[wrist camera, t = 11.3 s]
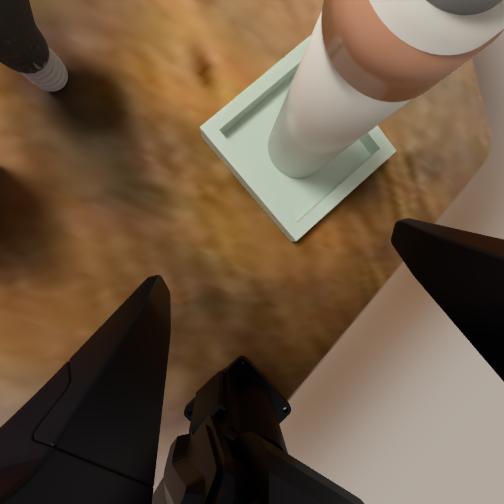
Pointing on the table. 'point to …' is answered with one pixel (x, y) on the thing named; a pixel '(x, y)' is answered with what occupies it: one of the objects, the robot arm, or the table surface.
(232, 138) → the tray
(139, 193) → the table surface
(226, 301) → the table surface
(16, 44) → the light bulb
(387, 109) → the bottle
